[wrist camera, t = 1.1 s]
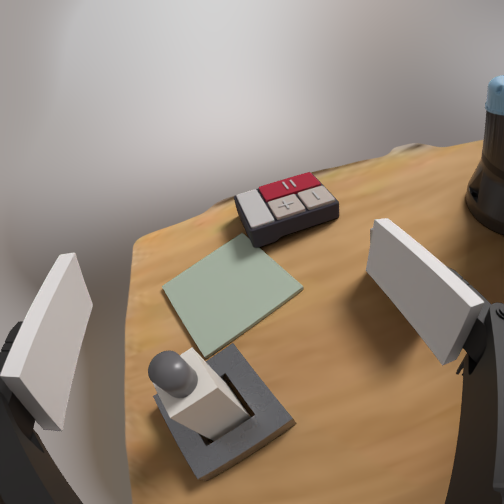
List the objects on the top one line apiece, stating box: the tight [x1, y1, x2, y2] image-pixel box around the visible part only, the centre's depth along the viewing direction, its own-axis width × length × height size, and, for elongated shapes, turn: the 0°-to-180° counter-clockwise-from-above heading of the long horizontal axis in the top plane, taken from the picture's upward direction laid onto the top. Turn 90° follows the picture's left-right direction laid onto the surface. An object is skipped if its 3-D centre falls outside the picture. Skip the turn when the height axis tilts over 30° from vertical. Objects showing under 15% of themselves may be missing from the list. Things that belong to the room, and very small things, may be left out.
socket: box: [153, 343, 296, 481], centre depth 32 cm, size 12×12×2 cm
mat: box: [162, 233, 304, 359], centre depth 46 cm, size 16×16×1 cm
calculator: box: [234, 172, 339, 248], centre depth 53 cm, size 11×4×15 cm
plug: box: [148, 348, 251, 441], centre depth 28 cm, size 5×5×14 cm
